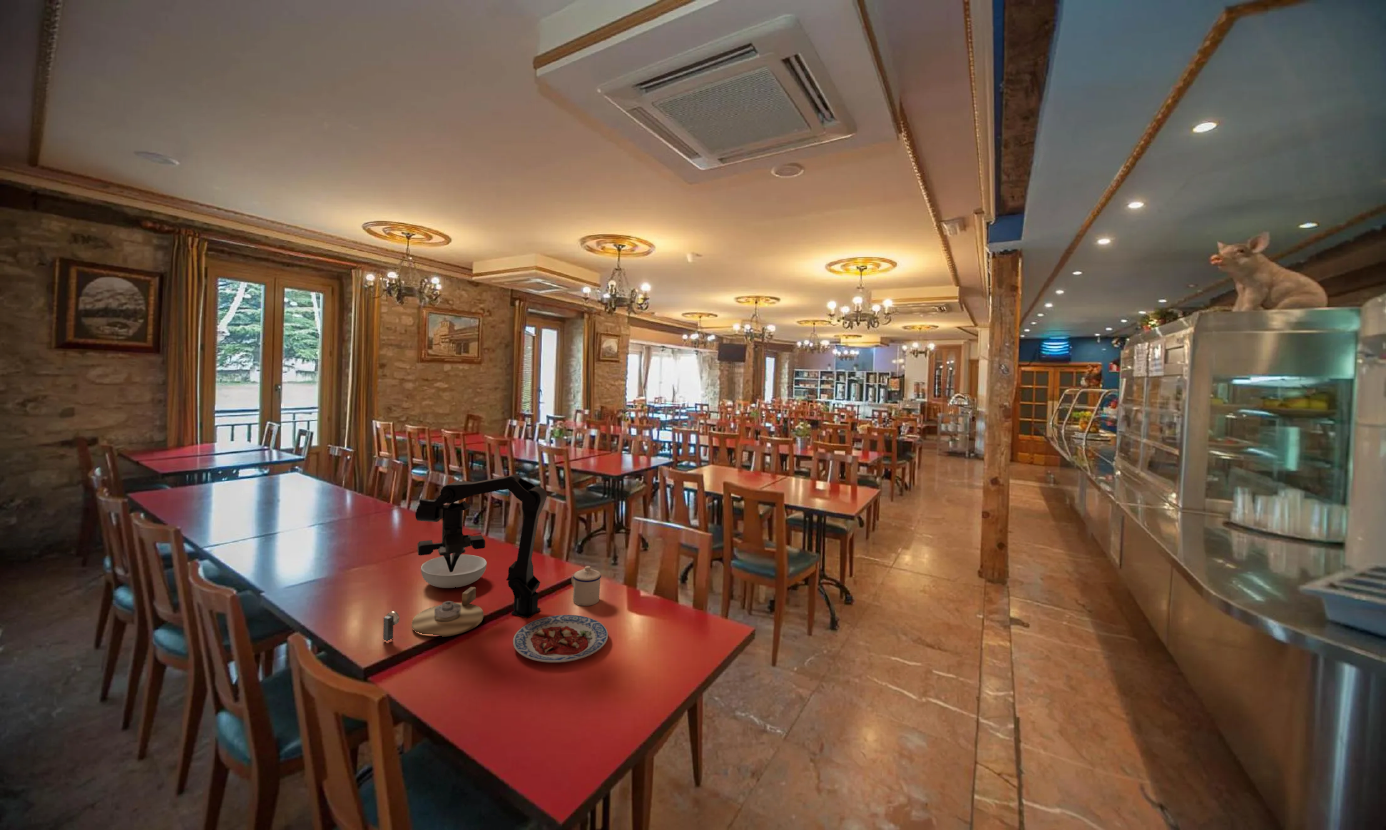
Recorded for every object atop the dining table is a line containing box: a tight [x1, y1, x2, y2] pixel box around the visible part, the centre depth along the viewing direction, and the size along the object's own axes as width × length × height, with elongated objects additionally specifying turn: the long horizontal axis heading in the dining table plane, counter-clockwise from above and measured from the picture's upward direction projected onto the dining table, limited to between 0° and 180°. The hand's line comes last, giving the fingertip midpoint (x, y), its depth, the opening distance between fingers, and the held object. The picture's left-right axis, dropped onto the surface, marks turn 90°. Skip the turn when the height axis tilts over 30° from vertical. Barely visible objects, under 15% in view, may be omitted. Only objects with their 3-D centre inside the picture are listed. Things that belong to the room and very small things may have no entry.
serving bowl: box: [420, 553, 488, 589], centre depth 176 cm, size 21×21×7 cm
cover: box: [434, 600, 461, 622], centre depth 148 cm, size 7×7×4 cm
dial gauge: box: [382, 610, 400, 641], centre depth 136 cm, size 4×3×8 cm
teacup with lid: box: [571, 565, 602, 607], centre depth 169 cm, size 12×9×12 cm
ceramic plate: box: [512, 614, 609, 663], centre depth 141 cm, size 26×26×3 cm
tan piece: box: [411, 586, 484, 638], centre depth 149 cm, size 21×19×5 cm
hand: (451, 571), depth 157 cm, fingers closed
